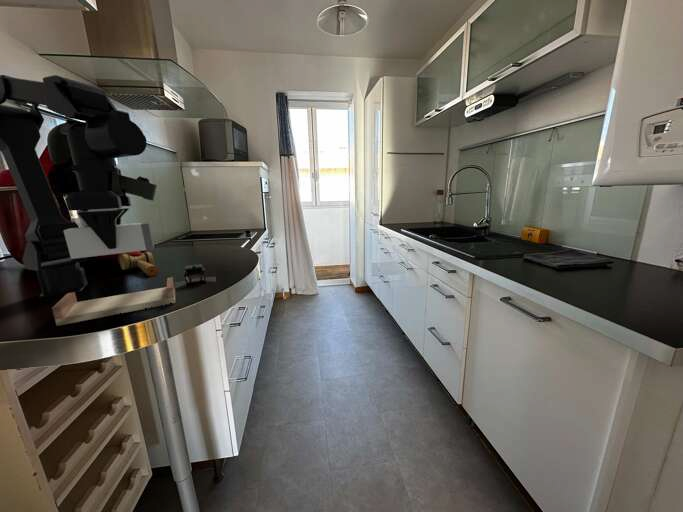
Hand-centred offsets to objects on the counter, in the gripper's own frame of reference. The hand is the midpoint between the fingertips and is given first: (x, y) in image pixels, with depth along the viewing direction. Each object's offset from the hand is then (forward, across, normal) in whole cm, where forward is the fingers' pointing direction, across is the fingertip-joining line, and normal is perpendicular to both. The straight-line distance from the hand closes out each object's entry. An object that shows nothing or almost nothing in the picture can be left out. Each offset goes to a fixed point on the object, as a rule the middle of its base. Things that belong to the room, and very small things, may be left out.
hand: (114, 246), depth 52 cm
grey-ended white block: (+1, 0, 0) cm, 1 cm away
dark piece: (+12, +6, -13) cm, 19 cm away
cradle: (+11, -2, 0) cm, 12 cm away
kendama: (+12, +28, 0) cm, 30 cm away
